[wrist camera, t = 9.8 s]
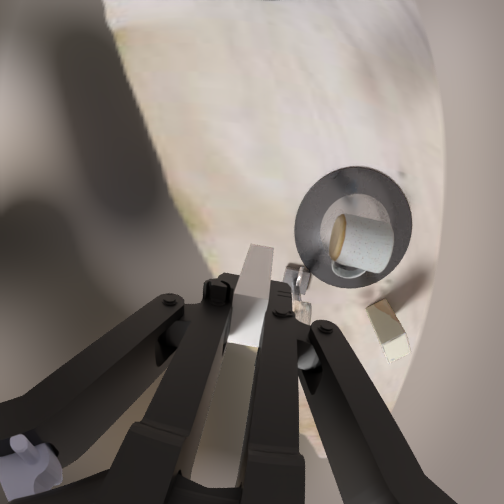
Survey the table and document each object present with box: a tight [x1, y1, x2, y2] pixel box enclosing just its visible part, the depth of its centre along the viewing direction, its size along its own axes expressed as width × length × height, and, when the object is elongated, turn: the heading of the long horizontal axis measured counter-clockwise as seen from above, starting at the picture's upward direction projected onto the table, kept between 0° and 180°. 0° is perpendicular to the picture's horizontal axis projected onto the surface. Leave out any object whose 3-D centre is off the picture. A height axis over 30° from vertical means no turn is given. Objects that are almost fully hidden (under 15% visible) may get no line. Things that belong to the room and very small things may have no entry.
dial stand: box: [283, 266, 312, 325], centre depth 38 cm, size 6×4×14 cm, turn 172°
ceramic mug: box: [329, 214, 394, 278], centre depth 38 cm, size 11×8×8 cm
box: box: [366, 299, 411, 364], centre depth 40 cm, size 5×4×11 cm
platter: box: [295, 167, 412, 288], centre depth 40 cm, size 20×20×1 cm
